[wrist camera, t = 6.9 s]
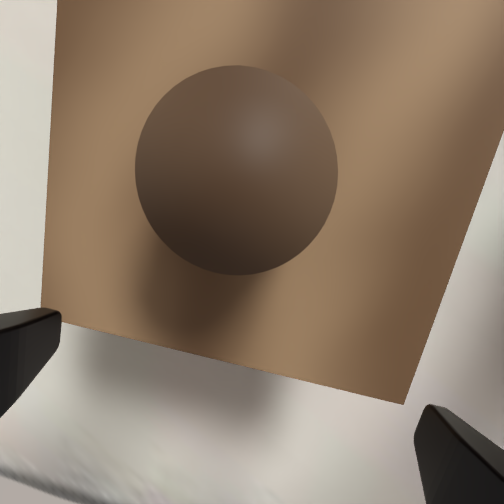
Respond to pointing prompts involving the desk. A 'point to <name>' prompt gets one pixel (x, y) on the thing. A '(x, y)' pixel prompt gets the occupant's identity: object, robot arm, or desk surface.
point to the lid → (270, 176)
